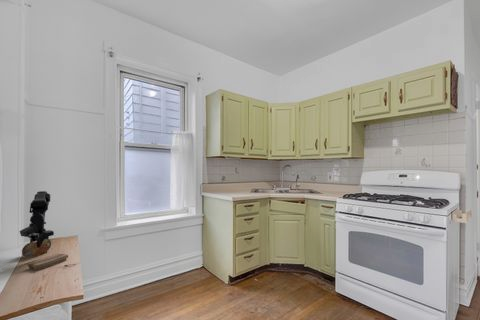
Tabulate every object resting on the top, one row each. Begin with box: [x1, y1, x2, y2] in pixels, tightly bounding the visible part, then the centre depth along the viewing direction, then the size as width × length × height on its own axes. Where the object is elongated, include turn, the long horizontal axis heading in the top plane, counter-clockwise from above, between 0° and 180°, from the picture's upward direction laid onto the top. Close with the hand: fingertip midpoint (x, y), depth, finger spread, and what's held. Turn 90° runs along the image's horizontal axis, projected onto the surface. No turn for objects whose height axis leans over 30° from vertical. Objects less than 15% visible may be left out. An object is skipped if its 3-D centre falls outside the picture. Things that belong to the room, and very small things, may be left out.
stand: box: [26, 253, 69, 271], centre depth 139 cm, size 8×17×3 cm, turn 165°
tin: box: [21, 239, 52, 259], centre depth 144 cm, size 15×3×8 cm, turn 165°
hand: (36, 247), depth 144 cm, fingers closed on tin, 3 cm apart
